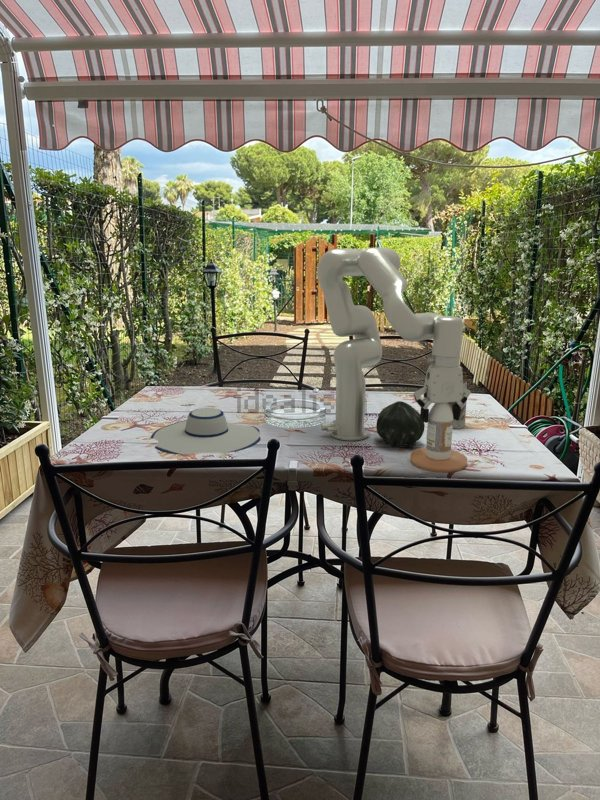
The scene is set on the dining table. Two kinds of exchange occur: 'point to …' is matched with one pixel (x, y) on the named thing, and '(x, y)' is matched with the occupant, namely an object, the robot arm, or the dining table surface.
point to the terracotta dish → (438, 461)
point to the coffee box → (461, 421)
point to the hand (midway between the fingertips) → (439, 420)
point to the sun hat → (205, 434)
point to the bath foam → (439, 432)
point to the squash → (400, 424)
